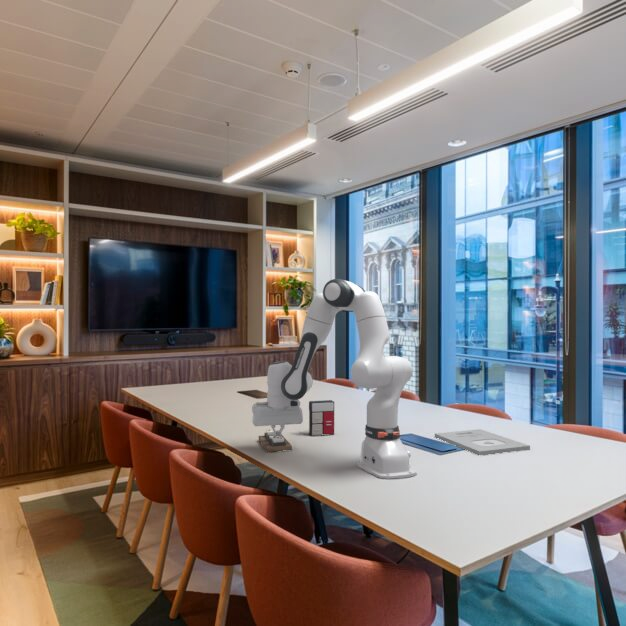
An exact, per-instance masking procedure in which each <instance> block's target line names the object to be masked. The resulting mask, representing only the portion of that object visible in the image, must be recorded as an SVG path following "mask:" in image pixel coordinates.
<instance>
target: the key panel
mask: <svg viewBox="0 0 626 626" xmlns="http://www.w3.org/2000/svg"><path fill="white" fill-rule="evenodd" d="M269 436H274V435H267V434H266V432H264V435H259V436H258V441H259V440H260V442H261V443H262V444H261V443H260V442H259V443H260V444H261V446H262V445H263V446H262V447H263V449H264V448H265V449H264V451H265V452H266V451H267V452H269V453H274V452H273V451H282V452H284V451H283V450H292V451H293V445H292V444H291V443H290V442H289V440H288V439H287V438H285V437H284V435H283V434H282V437H283V438H284V442H276V443H273V442H272V439H270V438H269ZM267 452H266V453H267Z"/></svg>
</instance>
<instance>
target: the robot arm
mask: <svg viewBox="0 0 626 626" xmlns="http://www.w3.org/2000/svg"><path fill="white" fill-rule="evenodd" d="M384 309H385V308H384V306H383V303H382V301H381V299H380V297H379V295H378V293H376V292H375V291H371V290H368V291H367V290H365V289H364V288H363V287H361V286H360V285H357V284H356V283H353V282H352V281H348V280H345V279H342V278H334V279H330V280H329V281H327V282H326V283H325V285H324V286H323V289H322V292H319V293H316V294H315V296H313V299H312V300H311V303H310V305H309V306H308V310H307V312H306V315H305V318H304V320H303V324H302V325H303V326H302V330H301V337H300V340H299V346H298V348H297V351H296V355H295V357H294V360H293V363H292V364H290V363H289V362H288V361H287V360H281V361H276V362H275V361H274V362H272V363H270V365H269V366H268V370H267V374H266V375H267V377H266V378H267V381H266V384H267V392H266V393H267V394H266V401H263V402H260V401H258V402H255V403H253V405H252V406H251V412H252V422H251V423H252V424H253V426H254V427H266V426H269V427H270V428H271V430H273V431H274V436H282V435H283V433H282V432H283V431H284V429H285V426H286V425H300V424H302V423H303V421H304V415H303V409H302V407H300V406H301V401H300V399H302V398H303V397H304V396H305V395H306V393H308V391H310V389H311V388H312V386H313V383H314V381H313V376H312V375H311V374H310V372H309V368H310V366H311V363H312V361H313V357H314V355H315V353H316V351H317V350H318V349H319V348H320V346H321V345H322V344H323V343H324V342H326V340H327V338H328V336H329V334H330V332H331V329H332V327H333V324H334V320H335V318H336V315H337V313H339V312H341V311H342V312H343V313H347V312H350V313H354V318H355V322H356V327H357V333H358V338H359V351H358V356H357V358H356V360H355V361H354V363H352V365H351V368H350V378H351V381H352V383H353V384H354V385H355V386H356V387H358V388H362V389H375V391H374V394H373V396H372V397H371V398H370V399H369V400H367V404H366V424H365V427H364V431H365V433H364V434H365V438H364V440H363V441H362V443H361V451H360V461H359V462H357V465H356V467H358V468H359V469H361V470H363V471H365V472H366V473H367V472H368V473H369V474H370V475H371V474H372V475H373V476H375V477H377V478H379V479H388V480H389V479H405V478H410V477H413V476H416V475H417V473H418V472H417V470H415V468H414V467H413V466H412V465H411V464H410V459H411V451H410V450H406V447H405V445H404V444H403V441H402V440H401V431H400V428H399V427H400V426H399V425H398V421H399V420H398V419H399V418H398V417H399V416H398V414H399V403H400V398H401V395H402V392H403V390H404V388H405V386H406V385H407V383H408V382H409V381H410V380H411V378H412V376H413V365H412V363H411V362H410V361H409V359H408V358H406V357H401V356H399V355H388V356H387V355H385V356H384V347H385V345H386V344H388V342H389V341H390V338H391V336H390V335H391V334H390V330H389V325H388V321H387V317H386V313H385V310H384ZM276 426H279V427H280V428H279V430H276V429H275V428H276ZM275 430H276V431H275Z"/></svg>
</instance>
